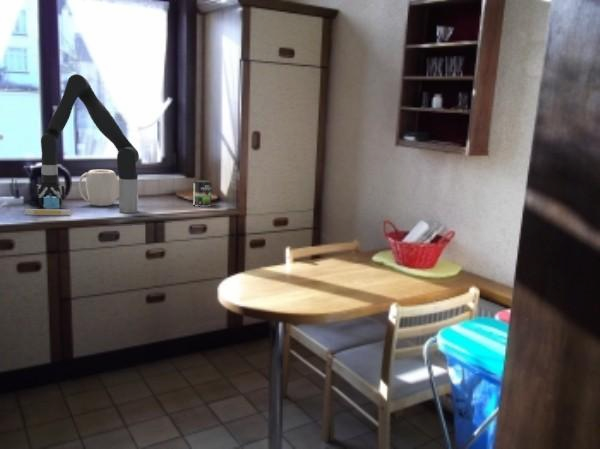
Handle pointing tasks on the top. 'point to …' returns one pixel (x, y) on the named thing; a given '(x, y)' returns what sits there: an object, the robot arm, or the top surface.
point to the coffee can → (202, 193)
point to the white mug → (100, 187)
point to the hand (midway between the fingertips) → (50, 205)
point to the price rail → (46, 212)
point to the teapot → (51, 202)
